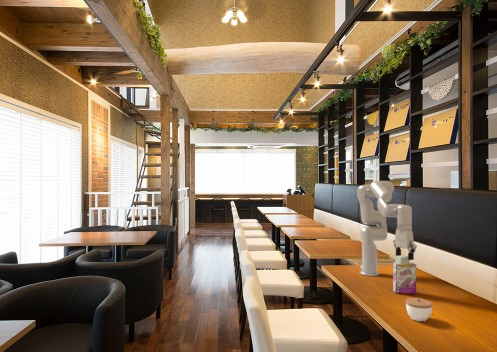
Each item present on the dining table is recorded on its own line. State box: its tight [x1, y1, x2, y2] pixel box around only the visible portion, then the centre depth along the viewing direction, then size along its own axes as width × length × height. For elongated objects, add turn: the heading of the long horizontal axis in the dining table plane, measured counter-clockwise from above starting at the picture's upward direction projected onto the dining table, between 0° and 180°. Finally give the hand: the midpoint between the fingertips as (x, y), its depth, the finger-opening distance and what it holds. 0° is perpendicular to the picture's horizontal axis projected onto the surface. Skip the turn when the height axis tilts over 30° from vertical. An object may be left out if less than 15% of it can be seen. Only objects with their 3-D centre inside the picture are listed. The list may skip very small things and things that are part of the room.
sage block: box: [394, 254, 410, 265], centre depth 195 cm, size 4×4×6 cm
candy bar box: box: [392, 262, 417, 295], centre depth 195 cm, size 11×5×16 cm, turn 84°
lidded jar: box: [405, 297, 433, 322], centre depth 157 cm, size 11×11×9 cm
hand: (404, 257), depth 195 cm, fingers open, 9 cm apart
